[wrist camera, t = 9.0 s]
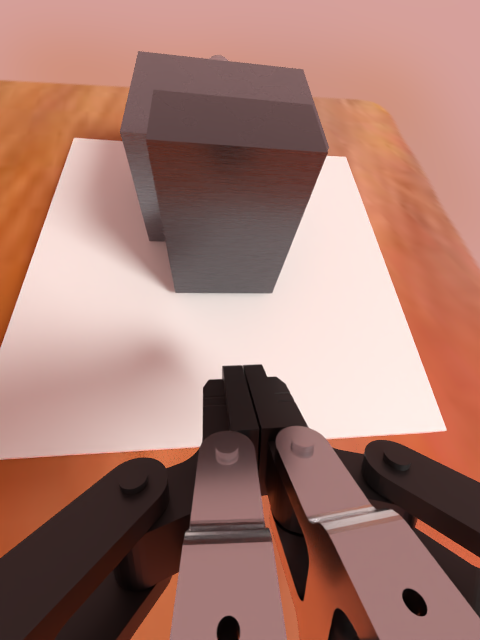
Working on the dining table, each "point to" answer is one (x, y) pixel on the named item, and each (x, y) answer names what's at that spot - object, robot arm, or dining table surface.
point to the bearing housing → (194, 79)
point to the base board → (197, 326)
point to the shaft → (231, 185)
